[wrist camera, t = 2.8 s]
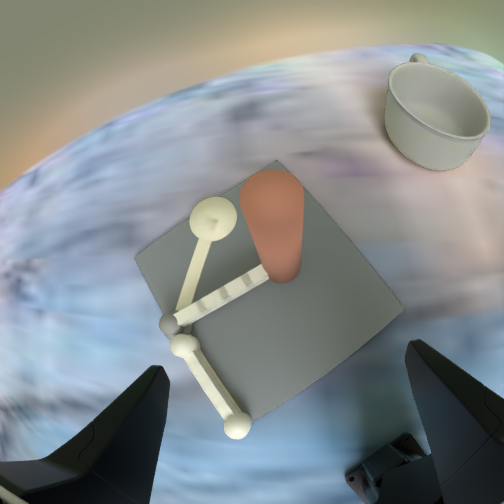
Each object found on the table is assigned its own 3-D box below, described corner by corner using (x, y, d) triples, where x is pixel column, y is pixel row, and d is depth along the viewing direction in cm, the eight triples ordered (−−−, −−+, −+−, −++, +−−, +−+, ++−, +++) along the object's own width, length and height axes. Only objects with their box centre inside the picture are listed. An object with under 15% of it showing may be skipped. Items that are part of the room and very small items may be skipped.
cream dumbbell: (257, 424, 21) (253, 432, 18) (238, 434, 21) (233, 443, 18) (194, 332, 24) (184, 329, 22) (178, 343, 24) (166, 341, 21)
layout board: (403, 309, 22) (406, 308, 21) (232, 433, 21) (230, 435, 20) (273, 158, 29) (273, 153, 28) (128, 257, 27) (123, 255, 26)
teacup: (465, 196, 24) (501, 153, 17) (372, 169, 27) (391, 113, 19) (452, 109, 28) (471, 65, 21) (376, 86, 31) (385, 36, 23)
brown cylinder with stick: (175, 346, 23) (92, 335, 12) (160, 314, 24) (76, 283, 14) (307, 270, 23) (317, 204, 13) (287, 240, 25) (281, 159, 14)
